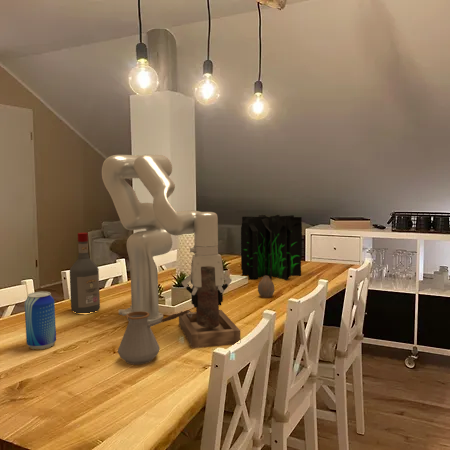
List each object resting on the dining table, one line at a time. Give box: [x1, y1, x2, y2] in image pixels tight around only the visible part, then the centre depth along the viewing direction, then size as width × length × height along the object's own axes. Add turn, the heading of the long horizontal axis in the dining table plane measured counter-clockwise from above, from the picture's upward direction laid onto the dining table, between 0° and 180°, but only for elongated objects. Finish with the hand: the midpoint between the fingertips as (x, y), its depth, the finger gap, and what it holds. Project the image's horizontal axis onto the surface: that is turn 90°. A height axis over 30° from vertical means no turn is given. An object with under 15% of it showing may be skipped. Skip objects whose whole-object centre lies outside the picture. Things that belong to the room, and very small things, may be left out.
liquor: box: [69, 232, 101, 314], centre depth 184 cm, size 9×9×30 cm
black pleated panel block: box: [240, 214, 303, 282], centre depth 247 cm, size 29×30×30 cm
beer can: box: [24, 291, 57, 350], centre depth 147 cm, size 8×8×16 cm
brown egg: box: [257, 276, 275, 299], centre depth 204 cm, size 7×7×9 cm
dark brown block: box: [195, 267, 220, 329], centre depth 156 cm, size 8×7×20 cm
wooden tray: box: [178, 309, 241, 349], centre depth 157 cm, size 15×24×4 cm, turn 14°
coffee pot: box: [117, 309, 192, 365], centre depth 134 cm, size 21×12×15 cm, turn 75°
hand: (207, 304), depth 156 cm, fingers closed on dark brown block, 7 cm apart
